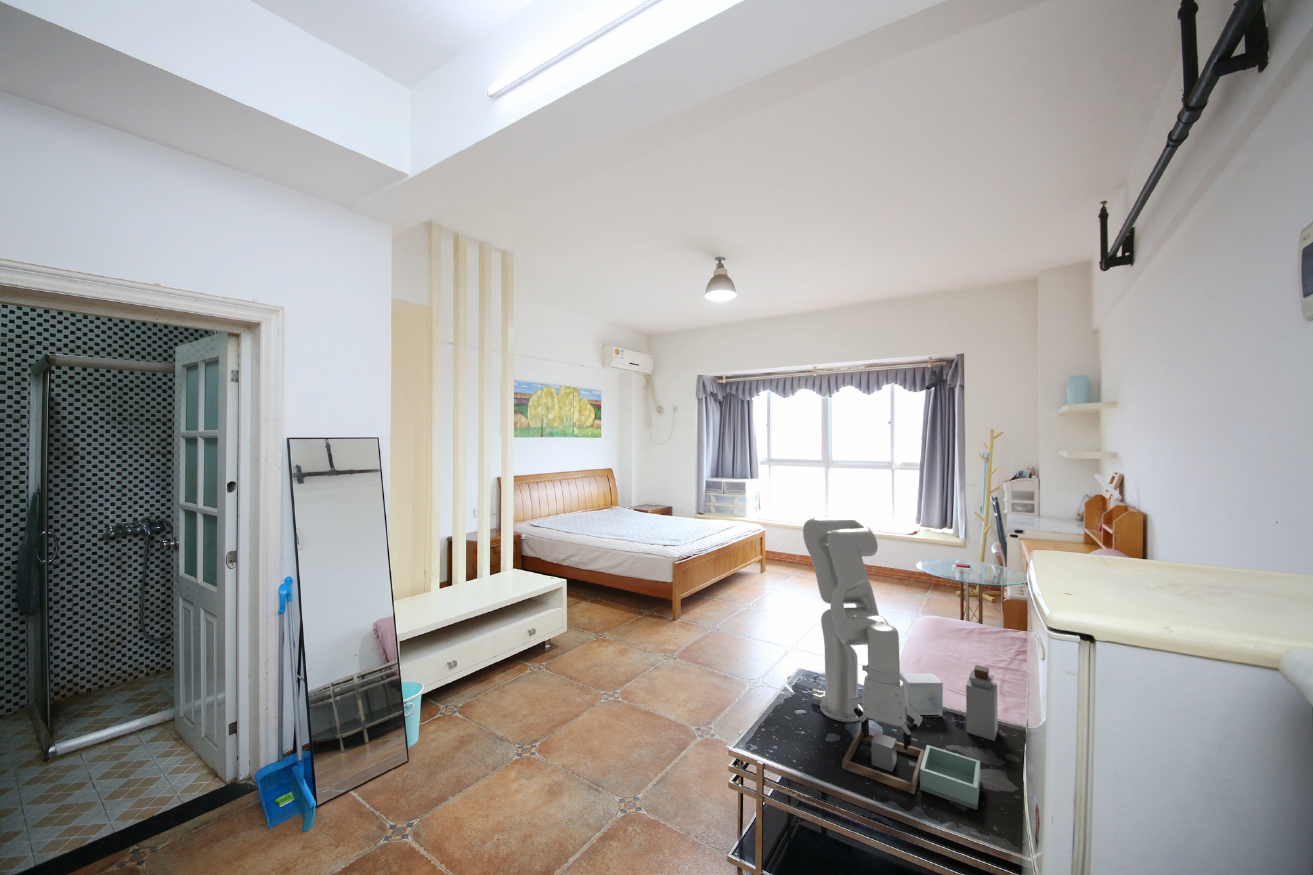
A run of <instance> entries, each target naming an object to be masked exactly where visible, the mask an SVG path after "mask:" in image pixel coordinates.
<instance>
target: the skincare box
mask: <svg viewBox="0 0 1313 875" xmlns="http://www.w3.org/2000/svg"><path fill="white" fill-rule="evenodd" d="M900 680H901V681H902V682H903V685H904V690H905V696H906V703H907V707H909V708H910V709H912V710H913V711H914V712H916V713H917V714H919V715H939V716H938V717H943V705H944V704H943V697H944V695H943V692H944V690H943V689H944V688H943V687H944V686H943V685H944V683H943V681H942V680H940V679H939V677H937V676H936V675H935V674H934V673H932V672H929V673H927V672H925V673H924V672H918V673H917V672H900ZM907 716H908V714H907Z"/></svg>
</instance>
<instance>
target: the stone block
mask: <svg viewBox="0 0 1313 875" xmlns="http://www.w3.org/2000/svg"><path fill="white" fill-rule="evenodd" d="M896 741H897V738H895V737H893V736H889V735H885V734H881V733H878V732H875V734H874V737H873V740H872V742H870V744H871V766H874V767H877V768H880V769H883V770H885V771H889V772H892V773H893V772H894V769H895V768H896V765H897V750H896Z"/></svg>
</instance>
